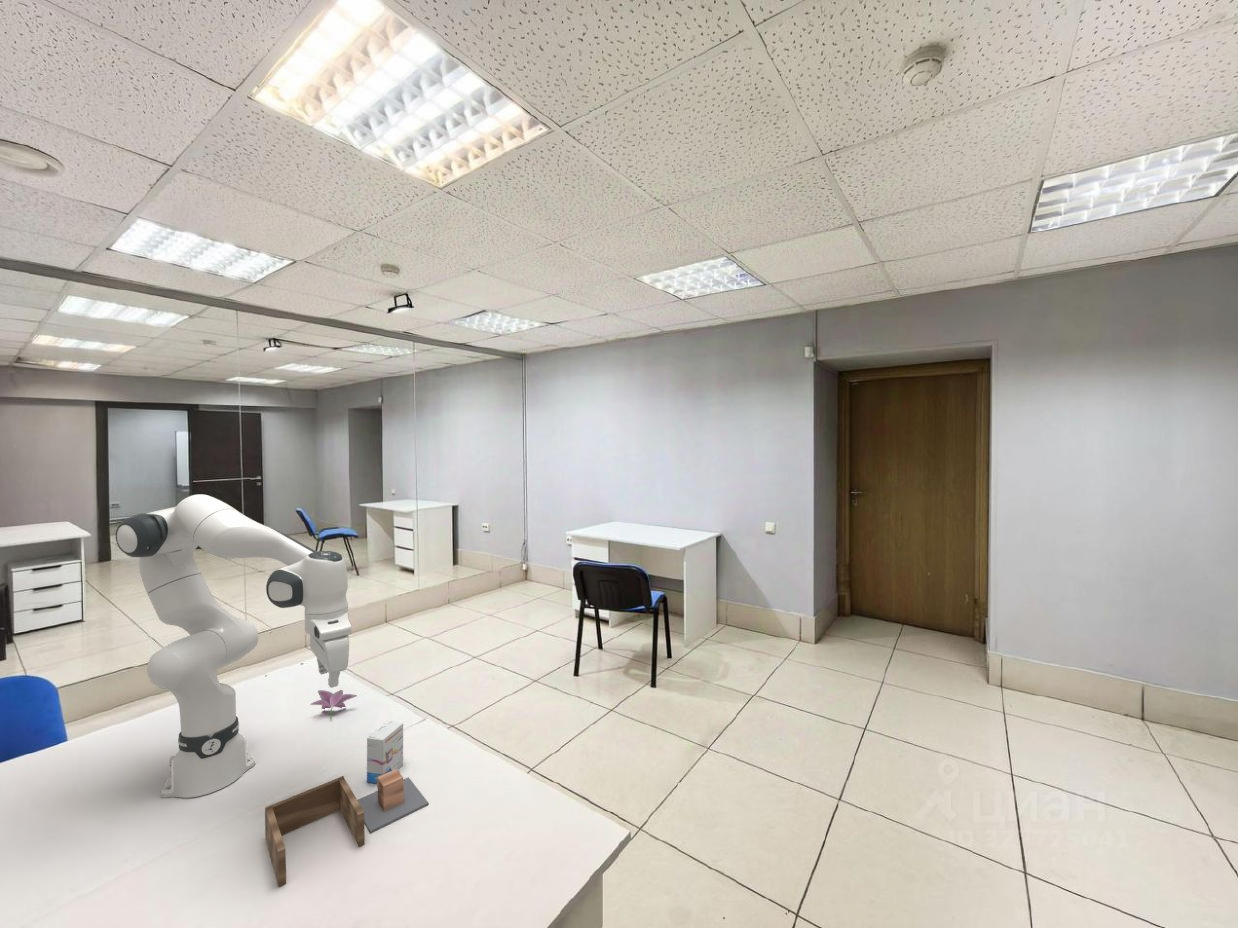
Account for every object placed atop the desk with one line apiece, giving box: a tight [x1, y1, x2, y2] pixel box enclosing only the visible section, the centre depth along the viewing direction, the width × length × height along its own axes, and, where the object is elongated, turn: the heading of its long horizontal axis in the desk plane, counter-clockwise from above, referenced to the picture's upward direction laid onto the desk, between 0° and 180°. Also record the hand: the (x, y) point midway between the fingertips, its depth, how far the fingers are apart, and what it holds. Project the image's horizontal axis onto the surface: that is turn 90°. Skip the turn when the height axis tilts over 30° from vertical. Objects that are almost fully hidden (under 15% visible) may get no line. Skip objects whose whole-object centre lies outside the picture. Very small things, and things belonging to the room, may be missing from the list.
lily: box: [309, 689, 358, 720], centre depth 159 cm, size 12×12×10 cm
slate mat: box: [357, 776, 430, 834], centre depth 119 cm, size 13×13×1 cm
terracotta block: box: [376, 769, 404, 811], centre depth 119 cm, size 4×4×6 cm
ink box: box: [366, 720, 404, 784], centre depth 130 cm, size 9×5×12 cm, turn 168°
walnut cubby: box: [264, 775, 366, 888], centre depth 107 cm, size 17×15×7 cm
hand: (328, 679), depth 116 cm, fingers open, 8 cm apart
